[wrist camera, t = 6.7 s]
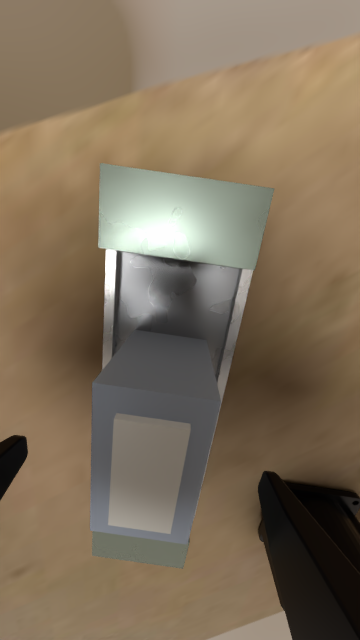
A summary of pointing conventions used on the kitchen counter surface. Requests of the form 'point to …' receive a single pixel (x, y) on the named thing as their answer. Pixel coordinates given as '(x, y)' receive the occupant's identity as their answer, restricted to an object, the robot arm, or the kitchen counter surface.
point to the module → (152, 436)
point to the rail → (175, 281)
